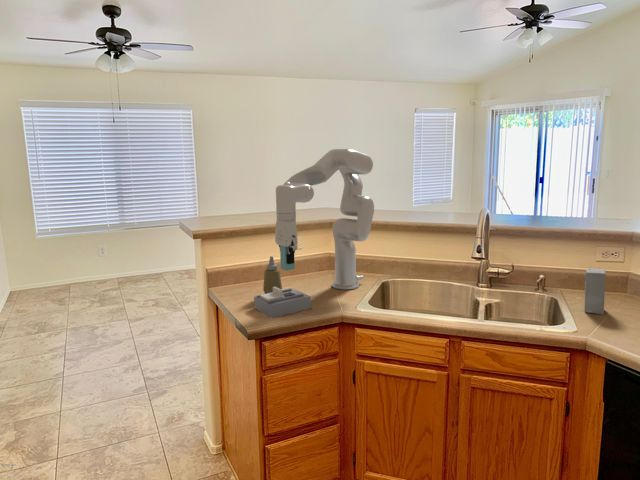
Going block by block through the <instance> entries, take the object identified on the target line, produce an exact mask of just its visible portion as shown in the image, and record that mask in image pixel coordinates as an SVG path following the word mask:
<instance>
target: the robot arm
mask: <svg viewBox="0 0 640 480" xmlns="http://www.w3.org/2000/svg"><path fill="white" fill-rule="evenodd" d="M373 167H374V162H373V159H372V157H371V156H370V155H369V154H366V153H363V152H360V151H357V150H355V149H351V148H334V149H331V150H329V151H328V152H327V153H325V154H324V155H322V157H320V159H318V161H316V162H315V163H314V164H313V165H312V166H309V167H307V168H305V169H303V170H301V171H299V172H297V173H295V174H293V175H291V176H290V177H289V178H288V179H287V180H286V181H284V183H283V184H280V185H277V186H276V187H275V204H276V206H275V209H276V220H275V221H276V223H275V234H274V235H275V239H274V241H275V244H276V245H278V247H279V249H280V245H281V246H284V247H287V253H288V254H287V264H293V263H294V264H295V253H296V251H297V249H298V248H299V247H298V230H297V228H298V227H297V221H296V220H297V217H296V215H297V213H296V212H297V211H296V210H297V209H296V204H297V203H309V202H310V201H312V199H313V198H314V196H315V191H314V188H313V187H312V186H316V185H320V184H323V183H326V182H327V181H328V180H329V179H331V178H332V176H333V175H334V174H335V173H337V171H339V172H340V174H341V177H342V178H343V182H344V183H343V185H344V186H343V191H342V196H341V200H340V201H341V202H340V207H339V209H340V210H339V211H340V212H341V214H342V215H343V216H344V215H345V216H347V217H342V218H337V219H336V220H335V221H334V222H333V224H332V229H331V230H332V235H333V241H334V266H335V267H334V277H335V278H334V281H333V282H332V283H331V286H332V288H334V289H338V290H347V291H348V290H354V289H357V288H359V286H360V282H358V281H361V280H364V279H365V277H364V275H357V272H356V271H357V270H356V268H357V265H356V263H357V262H356V259H357V258H356V257H357V255H356V254H357V252H356V251H357V248H356V246H355V243H354V242H365V241H366V240H368V238H369V236H370V232H371V230H372V229H371V228H372V223H373V218H374V213H375V203H374V200H373V199H372V197H369V196H367V195H363V188H364V187H363V181H362V178H361V176H359V175H368V174H369V173H371V171H372V170H373ZM348 216H349V217H356V219H355V218H348ZM291 244H292V246H290V245H291ZM291 247H292V248H291ZM290 248H291V249H290Z"/></svg>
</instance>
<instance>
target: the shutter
mask: <svg viewBox="0 0 640 480" xmlns="http://www.w3.org/2000/svg"><path fill="white" fill-rule="evenodd" d="M283 290H284V289H283V288H282V289H279V288H277V287H273V292H272V293H268V294H265V293H262V294H263V295H262V294H259V295H260V298H262V299H264V300H266V301H271V300H276V299H280V298H285V296H283Z"/></svg>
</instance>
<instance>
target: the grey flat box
mask: <svg viewBox="0 0 640 480" xmlns="http://www.w3.org/2000/svg"><path fill="white" fill-rule="evenodd" d="M282 290H283V296H285V298H280V299H276V300H271V301H266V300H264V299H262V298H260V295H263V294H264V293H262V294H259V295H254V296H253V304H254V306H253V307H254V309H255V310H257V311H259V312H260V313H262V314H264V315H266V316H267V317H269V318H270V317H271V319H273V318H277V316H278V317H281V315H282V316H285V314H286V315H289V313H290V314H293V313H294V314H295V313H298V312H301V311H305V310H309V309H312V306H311V305H312V299H311V297H312V296H311V295H308V294H306V293H303V292H302V291H300V290H297V289H295V288H287V289H282ZM271 293H272V292H271ZM267 294H268V293H267Z"/></svg>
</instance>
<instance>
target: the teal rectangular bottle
mask: <svg viewBox="0 0 640 480" xmlns="http://www.w3.org/2000/svg"><path fill="white" fill-rule="evenodd" d="M290 246H292V244H291V245H290ZM291 248H292V247H291ZM291 248H290V249H291ZM287 254H288V253H287V247H284V246H281V245H280V248H279V255H280V256H279V257H280V269H281V270H283V271H291V270H295V262H294V263H293V264H287Z"/></svg>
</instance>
